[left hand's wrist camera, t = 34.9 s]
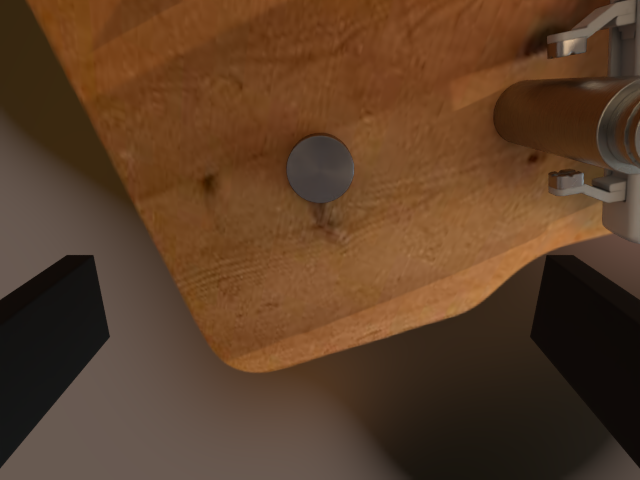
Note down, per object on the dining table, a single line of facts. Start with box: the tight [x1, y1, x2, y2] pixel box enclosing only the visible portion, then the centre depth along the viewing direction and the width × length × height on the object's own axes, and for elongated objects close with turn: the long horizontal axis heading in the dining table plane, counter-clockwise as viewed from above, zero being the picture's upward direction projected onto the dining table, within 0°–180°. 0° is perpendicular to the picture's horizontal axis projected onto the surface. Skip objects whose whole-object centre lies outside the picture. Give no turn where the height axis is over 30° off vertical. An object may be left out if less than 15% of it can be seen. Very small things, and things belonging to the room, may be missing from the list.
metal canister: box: [287, 133, 354, 203], centre depth 36 cm, size 6×6×2 cm
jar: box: [494, 75, 640, 175], centre depth 28 cm, size 5×5×16 cm
